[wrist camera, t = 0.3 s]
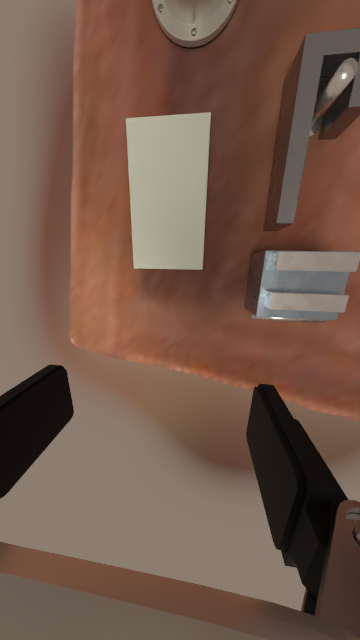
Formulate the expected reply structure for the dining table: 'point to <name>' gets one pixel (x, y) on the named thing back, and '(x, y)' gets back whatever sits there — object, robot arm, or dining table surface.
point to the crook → (309, 115)
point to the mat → (168, 189)
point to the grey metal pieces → (304, 256)
